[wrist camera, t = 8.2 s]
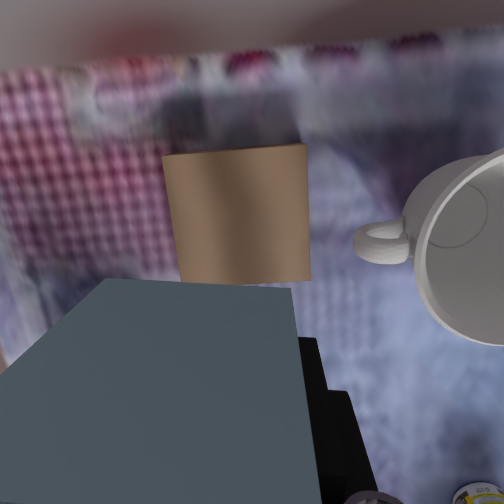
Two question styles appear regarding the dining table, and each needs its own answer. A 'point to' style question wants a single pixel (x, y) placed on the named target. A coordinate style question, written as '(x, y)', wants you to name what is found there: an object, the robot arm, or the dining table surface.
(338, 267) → the dining table surface
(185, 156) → the tan flat block
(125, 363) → the slate block
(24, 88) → the dining table surface
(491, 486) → the supplement bottle
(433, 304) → the teacup
